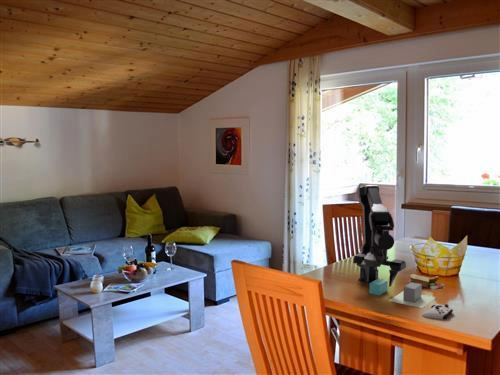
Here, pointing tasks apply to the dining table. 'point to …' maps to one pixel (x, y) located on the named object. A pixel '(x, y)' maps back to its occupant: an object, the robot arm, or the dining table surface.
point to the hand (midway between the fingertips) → (378, 284)
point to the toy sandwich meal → (426, 282)
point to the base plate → (420, 303)
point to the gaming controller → (438, 311)
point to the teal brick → (378, 287)
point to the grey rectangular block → (412, 292)
